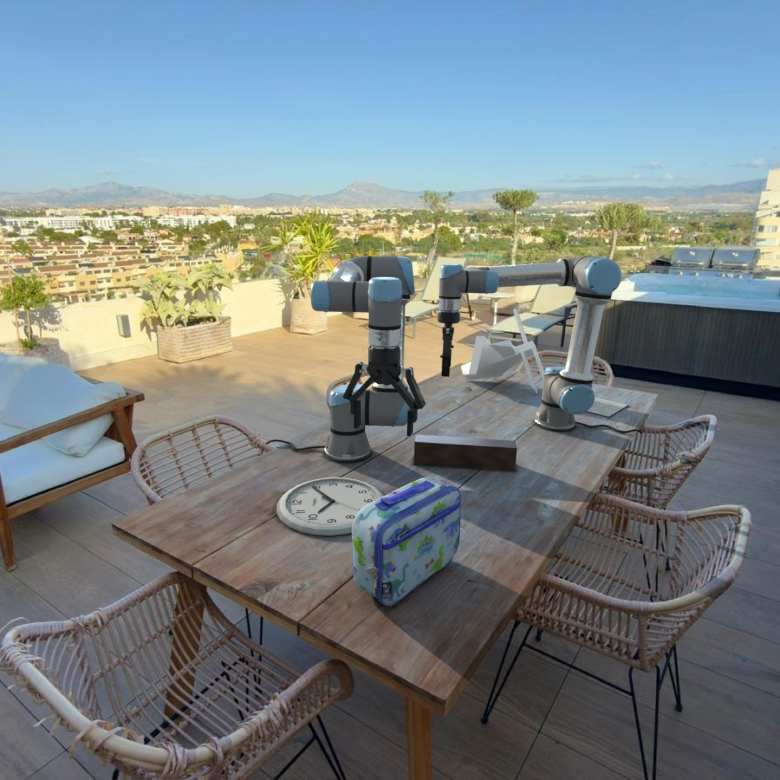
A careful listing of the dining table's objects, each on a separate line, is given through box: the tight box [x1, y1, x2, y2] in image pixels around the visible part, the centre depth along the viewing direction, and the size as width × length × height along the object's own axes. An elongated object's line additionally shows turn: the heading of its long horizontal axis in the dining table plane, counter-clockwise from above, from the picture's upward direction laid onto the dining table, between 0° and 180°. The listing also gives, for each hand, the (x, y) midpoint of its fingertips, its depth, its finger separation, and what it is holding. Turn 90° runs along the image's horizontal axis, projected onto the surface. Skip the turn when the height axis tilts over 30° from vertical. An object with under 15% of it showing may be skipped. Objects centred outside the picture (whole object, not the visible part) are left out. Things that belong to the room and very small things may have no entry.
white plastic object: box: [460, 308, 545, 394], centre depth 253 cm, size 37×45×31 cm
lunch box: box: [351, 476, 462, 607], centre depth 111 cm, size 26×11×21 cm, turn 135°
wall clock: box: [276, 476, 385, 537], centre depth 142 cm, size 30×2×30 cm
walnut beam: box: [413, 434, 518, 472], centre depth 168 cm, size 32×6×8 cm, turn 83°
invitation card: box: [586, 396, 629, 418], centre depth 226 cm, size 21×1×15 cm
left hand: (383, 430), depth 128 cm, fingers open, 13 cm apart
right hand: (446, 371), depth 183 cm, fingers open, 13 cm apart
